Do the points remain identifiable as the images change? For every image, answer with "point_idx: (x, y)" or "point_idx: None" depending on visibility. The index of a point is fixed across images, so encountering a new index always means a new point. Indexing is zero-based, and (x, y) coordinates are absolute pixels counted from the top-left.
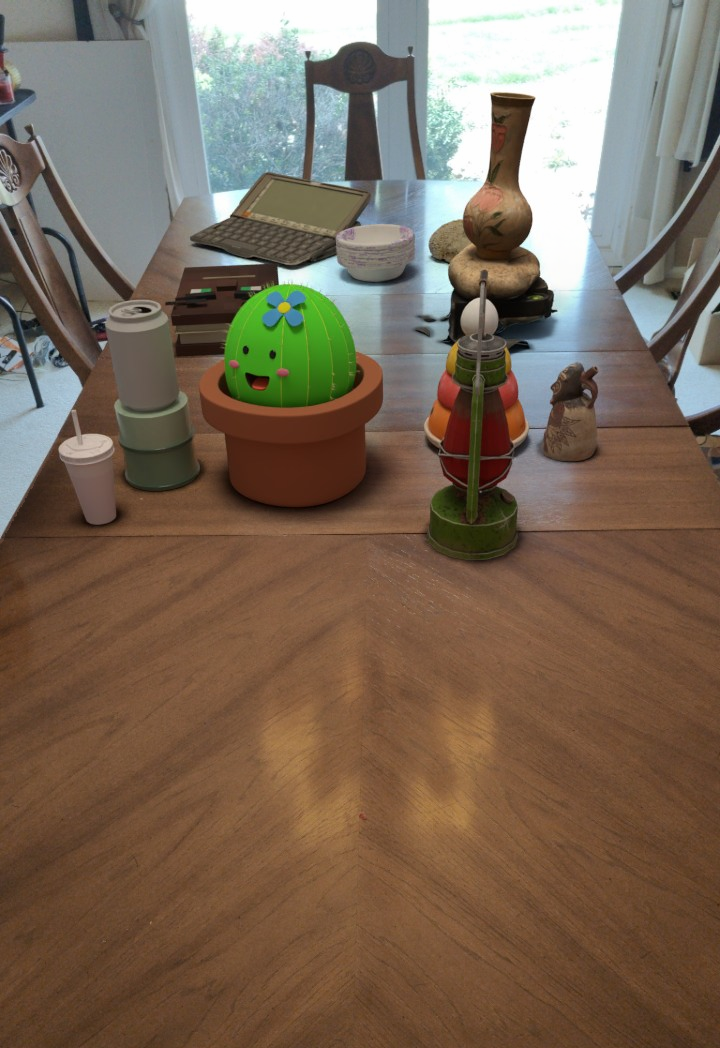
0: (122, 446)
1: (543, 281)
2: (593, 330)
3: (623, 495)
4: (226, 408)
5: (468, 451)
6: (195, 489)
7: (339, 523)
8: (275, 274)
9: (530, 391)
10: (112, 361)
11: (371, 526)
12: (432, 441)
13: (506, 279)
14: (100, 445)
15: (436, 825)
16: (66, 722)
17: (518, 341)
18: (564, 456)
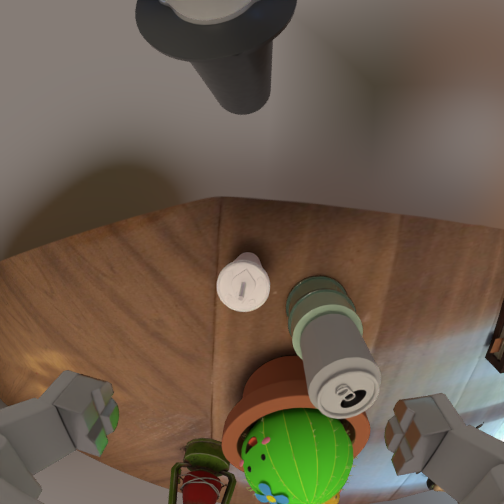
0: (304, 294)
1: None
2: (420, 486)
3: (243, 492)
4: (240, 414)
5: (183, 489)
6: (284, 330)
7: (224, 408)
8: None
9: (365, 477)
10: (331, 336)
11: (220, 420)
12: None
13: (439, 487)
14: (238, 302)
15: (40, 390)
16: (48, 271)
17: (416, 473)
18: None
